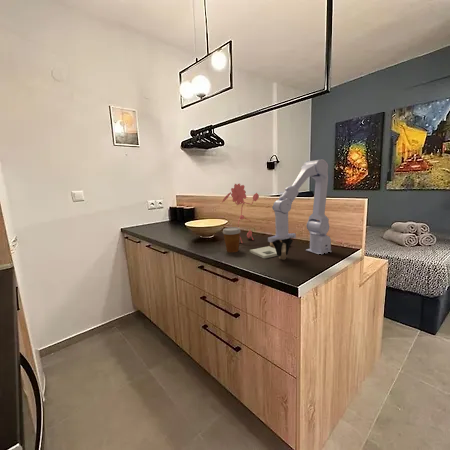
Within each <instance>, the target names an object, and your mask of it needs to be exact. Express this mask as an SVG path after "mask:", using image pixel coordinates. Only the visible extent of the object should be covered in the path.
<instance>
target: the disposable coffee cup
mask: <svg viewBox="0 0 450 450" xmlns="http://www.w3.org/2000/svg"><path fill="white" fill-rule="evenodd" d="M241 231H242V230H241V229H240V227H239V228H238V226H237V227H236V226H234V227H232V226H231V227H225V228H223V230H222V234H223V239H224V243H225V250H226V252H227V253H233V254H234V253H237V252H239V248H240V237H241V235H240V234H241Z"/></svg>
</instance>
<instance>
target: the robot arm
mask: <svg viewBox="0 0 450 450" xmlns="http://www.w3.org/2000/svg"><path fill="white" fill-rule="evenodd" d="M300 169H301V170H300V171H299V173H298V175H297V177H296V178H295V180H294V182H293V183H292V185H288V186H287V187H285V188H284V191H283V193H282V194H281V195H279V198H278V199H277V200H275V201H274V202H273V205H272V206H271V207H272V210H273V212H274V216H275V220H274V222H275V224H274V225H275V235H272V236H269V237H267V243H269V244H270V243H271V242H272V243H273V245H274V247H275V249H276V253H277V255H278V256H277V257H279V256H281V249H282V244H283V243H286V256H287V255H288V254H289V250H290V247H291V245H292V243H293V239H296V238H297V234H296V233H293V232H292V233H291V232H290V233H289V212H290V211H291V209H292V204H293V202H294V200H295V199H296V198H297V196H298V195H299V194H300V193H299V190H300V188H301V187H302V185H303V184H304V183H306V180H308V178H310V177H311V178H312V179H313V180H314V182H315V184H314V196H313V206H312V213H311V214H310V215H309V216H308V220H307V222H306V229H307V231H308V233H309V248H307V249H305V251H306V252H310V253H314V254H317V255H319V254H321V255H324V253H325V254H329V253H328V252H330V253H332V245H331V244H332V239H331V237H330V236H329V235H327V234H328V232H329V231H330V222H329V220H330V219H329V217H328V216H327V215H326V214H325V213H326V204H327V195H328V185H329V173H328V172H329V164H328V162H327V161H326V160H325V159H322V158H321V159H316V160H306V161H305V162H303V165H302V166H301V167H300ZM280 240H282V242H281V241H280Z"/></svg>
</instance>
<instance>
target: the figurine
mask: <svg viewBox="0 0 450 450" xmlns="http://www.w3.org/2000/svg"><path fill="white" fill-rule="evenodd" d="M230 196H231V197H232V202H234V203H235V204H236V206H239V205H241V208H240V209H241V210H240V212H241V213H240V215H239V219H238V222H237V228H240V227H239V224H240V220H244V219H245V220H247V221H250V219H249V218H246V217H245V216H244V215H243V206H244V205H245V204H247V205H253V203H254V202H257V201H258V200H259V198H260V196H259V194H258V192H256V193H254V194H253V195H252V201H251V203H249V202H245V201H244V199H245V200H247V195H246V190H245V185H244V184H242V185H241V183H234V186H233V187H231V189H230V192H229V193H228V194H227V195H225V197H224V198H223V199H222V200H221V203H224V202H225V201H226V200H227V199H228V198H229V197H230ZM246 237H247V239H250V238H251V239H252V241H254V238H253V231H252V230H251V229H249V230H248V232H247V233H246ZM239 241H240V242H241V244H243V240H242V237H241V236H240V238H239Z"/></svg>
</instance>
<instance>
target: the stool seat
mask: <svg viewBox="0 0 450 450" xmlns="http://www.w3.org/2000/svg"><path fill="white" fill-rule="evenodd" d="M249 253H250V254H253V255H255V256H257V257H260V258H261V259H268V258H273V257H279V256H278V255H277V253H276V249H275V248H273V247H270V245H268V246H263V247H257V248H253V249H249Z"/></svg>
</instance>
